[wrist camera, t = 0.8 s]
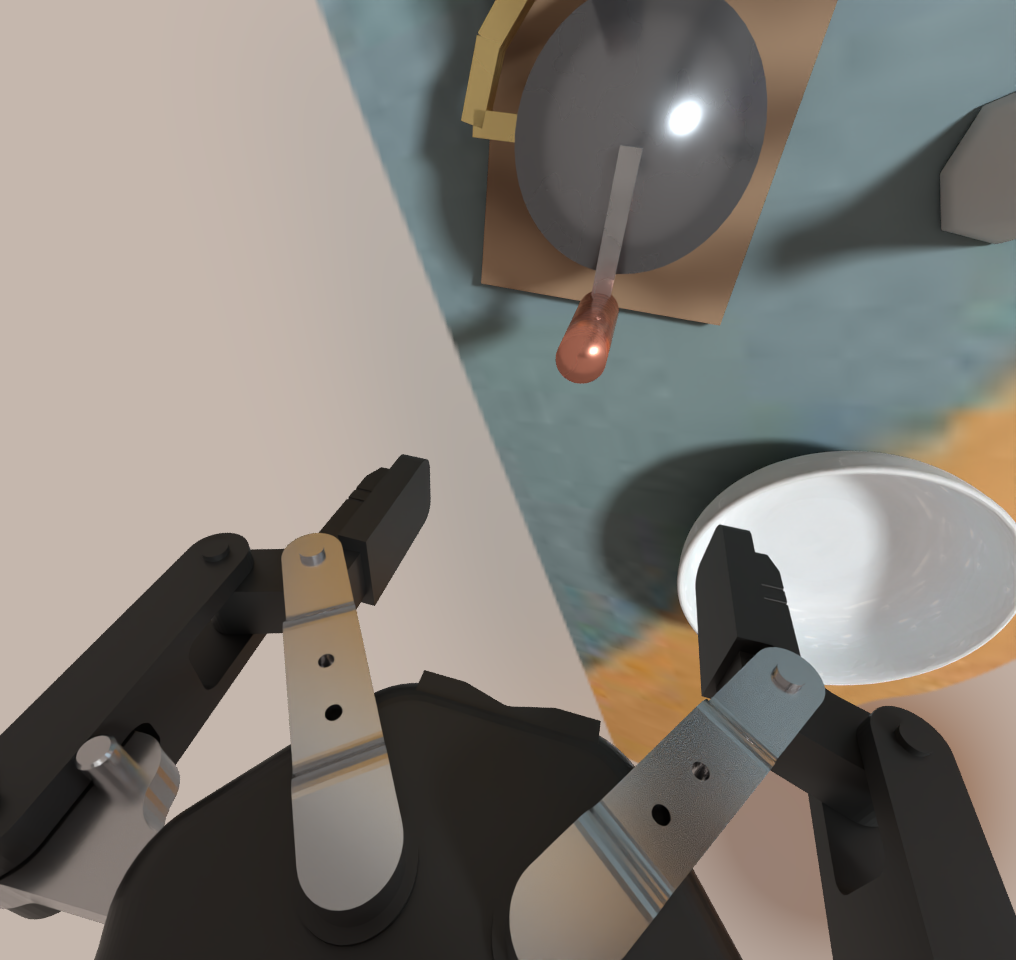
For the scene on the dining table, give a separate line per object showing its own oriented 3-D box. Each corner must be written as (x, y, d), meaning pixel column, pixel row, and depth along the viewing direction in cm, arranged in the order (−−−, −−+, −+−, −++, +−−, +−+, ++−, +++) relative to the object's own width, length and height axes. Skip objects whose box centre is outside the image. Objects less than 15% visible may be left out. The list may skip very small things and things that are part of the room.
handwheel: (490, -127, 23) (347, -323, 13) (826, -110, 21) (979, -330, 11) (471, 276, 34) (386, 344, 24) (690, 314, 32) (700, 407, 21)
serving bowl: (1056, 515, 34) (1129, 589, 29) (810, 648, 47) (828, 716, 42) (814, 359, 32) (843, 407, 27) (626, 542, 45) (621, 599, 40)
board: (519, -247, 21) (513, -260, 21) (919, -242, 19) (930, -257, 18) (485, 279, 35) (481, 283, 34) (718, 320, 32) (719, 325, 32)
